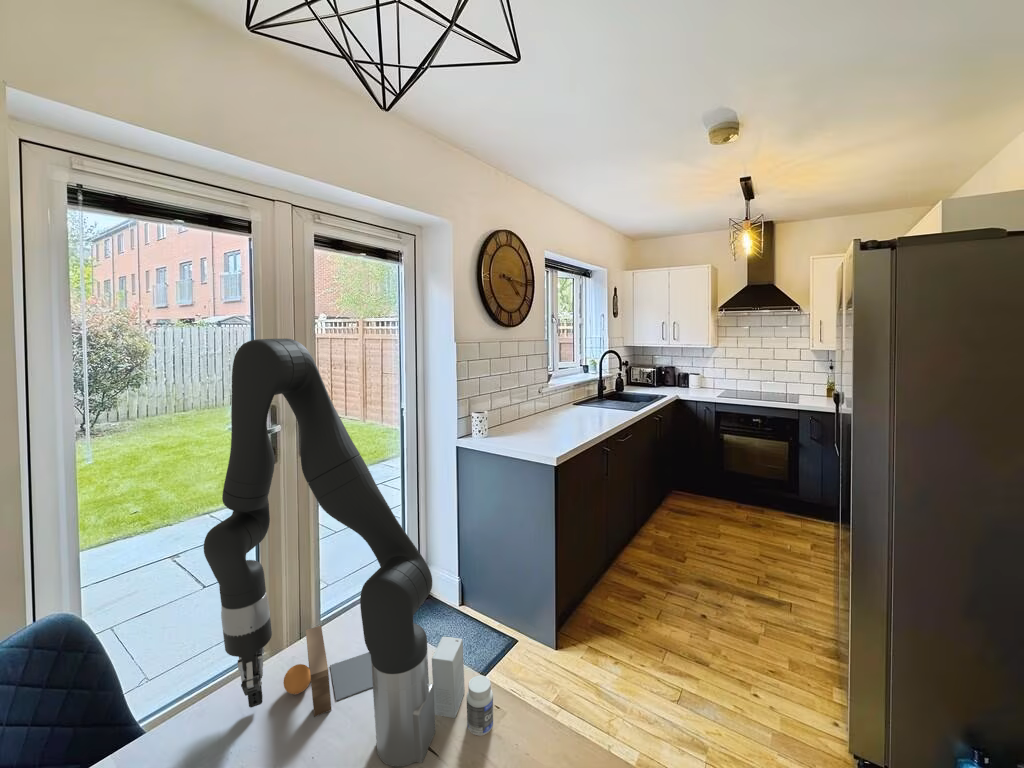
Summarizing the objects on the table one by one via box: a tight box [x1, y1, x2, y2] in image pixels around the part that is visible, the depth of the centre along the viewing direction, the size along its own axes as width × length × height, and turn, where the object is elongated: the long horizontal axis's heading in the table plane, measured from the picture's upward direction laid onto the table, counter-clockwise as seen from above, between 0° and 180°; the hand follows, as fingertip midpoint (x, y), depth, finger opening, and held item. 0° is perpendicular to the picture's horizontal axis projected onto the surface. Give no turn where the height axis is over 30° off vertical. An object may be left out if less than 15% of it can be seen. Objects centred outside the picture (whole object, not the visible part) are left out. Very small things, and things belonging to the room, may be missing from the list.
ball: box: [283, 663, 311, 695], centre depth 91 cm, size 5×5×5 cm
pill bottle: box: [466, 675, 494, 736], centre depth 82 cm, size 5×5×8 cm
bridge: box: [305, 625, 332, 718], centre depth 91 cm, size 3×14×9 cm, turn 27°
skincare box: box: [431, 636, 466, 719], centre depth 87 cm, size 6×4×12 cm
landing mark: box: [330, 651, 373, 702], centre depth 95 cm, size 10×10×1 cm
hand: (256, 702), depth 86 cm, fingers closed
